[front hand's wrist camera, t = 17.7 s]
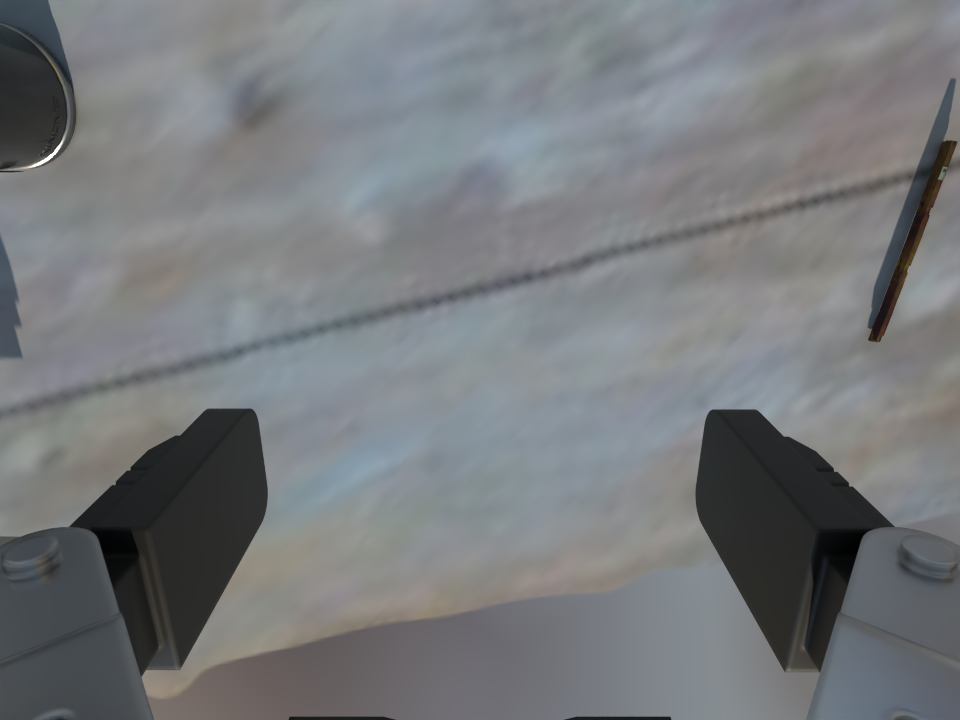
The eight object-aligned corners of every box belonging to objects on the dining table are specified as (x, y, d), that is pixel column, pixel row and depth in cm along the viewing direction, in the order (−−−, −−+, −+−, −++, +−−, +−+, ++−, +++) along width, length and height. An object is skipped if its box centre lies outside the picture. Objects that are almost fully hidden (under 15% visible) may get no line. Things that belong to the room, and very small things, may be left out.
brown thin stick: (873, 340, 49) (880, 344, 48) (867, 340, 49) (875, 344, 48) (948, 141, 44) (958, 141, 43) (942, 140, 44) (952, 140, 43)
